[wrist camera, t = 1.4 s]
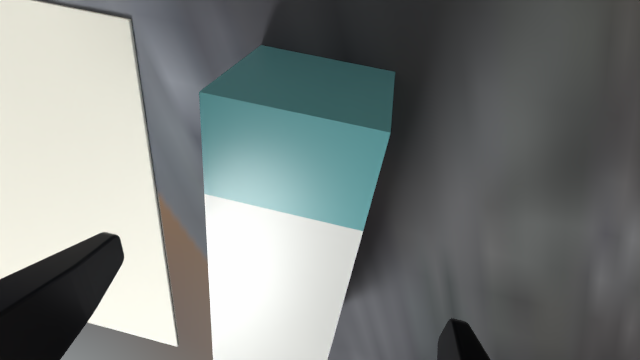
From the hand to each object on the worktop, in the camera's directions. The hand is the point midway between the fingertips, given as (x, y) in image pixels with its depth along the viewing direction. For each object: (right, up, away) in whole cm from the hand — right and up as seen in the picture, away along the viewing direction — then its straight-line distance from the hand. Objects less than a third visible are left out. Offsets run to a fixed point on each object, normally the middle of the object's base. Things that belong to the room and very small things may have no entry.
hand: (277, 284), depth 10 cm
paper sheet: (-10, +2, +5) cm, 12 cm away
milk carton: (+1, +2, +3) cm, 3 cm away
